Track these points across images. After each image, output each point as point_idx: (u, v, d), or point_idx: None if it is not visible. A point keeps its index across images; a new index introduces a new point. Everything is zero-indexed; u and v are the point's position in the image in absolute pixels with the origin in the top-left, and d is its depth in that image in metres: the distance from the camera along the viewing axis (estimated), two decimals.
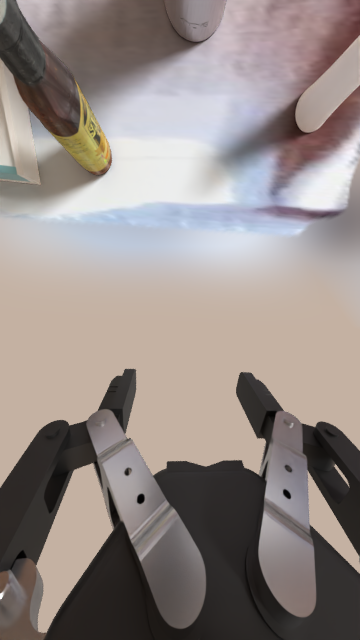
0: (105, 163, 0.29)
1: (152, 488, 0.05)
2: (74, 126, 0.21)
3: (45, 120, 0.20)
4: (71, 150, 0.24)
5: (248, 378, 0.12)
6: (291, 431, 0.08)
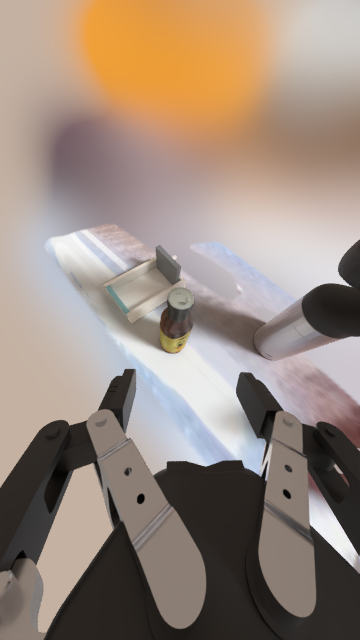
0: (173, 351, 0.39)
1: (152, 488, 0.05)
2: (173, 337, 0.31)
3: (162, 325, 0.30)
4: (161, 336, 0.35)
5: (248, 378, 0.12)
6: (291, 431, 0.08)
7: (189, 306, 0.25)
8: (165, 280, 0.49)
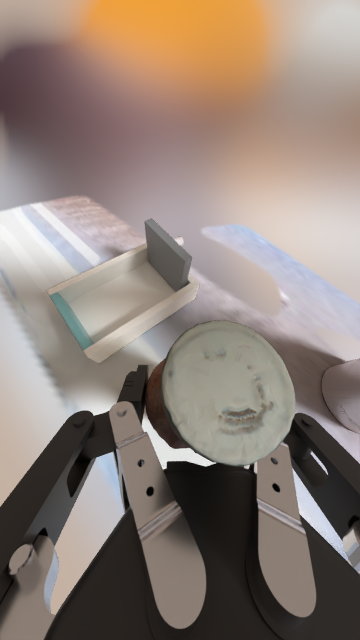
0: None
1: (162, 484, 0.06)
2: None
3: (149, 419, 0.10)
4: None
5: None
6: None
7: (281, 436, 0.04)
8: (162, 283, 0.29)
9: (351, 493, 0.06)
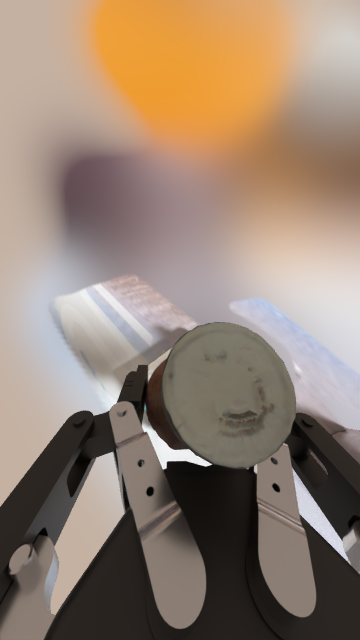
0: None
1: (162, 484, 0.06)
2: None
3: (149, 420, 0.10)
4: None
5: None
6: None
7: (282, 438, 0.04)
8: None
9: (351, 493, 0.06)
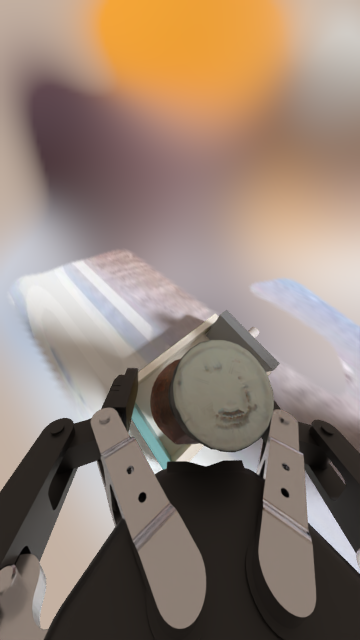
0: None
1: (154, 487, 0.06)
2: None
3: (154, 419, 0.12)
4: None
5: None
6: (287, 429, 0.08)
7: (262, 430, 0.06)
8: None
9: None
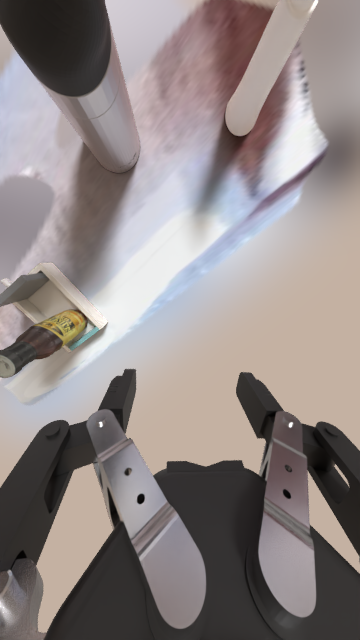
0: (84, 323, 0.41)
1: (152, 488, 0.05)
2: (60, 342, 0.33)
3: None
4: None
5: (248, 378, 0.12)
6: (291, 431, 0.08)
7: (8, 359, 0.24)
8: (45, 287, 0.40)
9: None
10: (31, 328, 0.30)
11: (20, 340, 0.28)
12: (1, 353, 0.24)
